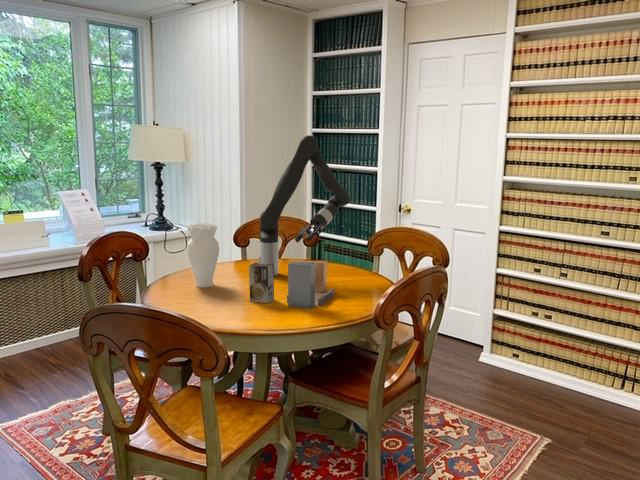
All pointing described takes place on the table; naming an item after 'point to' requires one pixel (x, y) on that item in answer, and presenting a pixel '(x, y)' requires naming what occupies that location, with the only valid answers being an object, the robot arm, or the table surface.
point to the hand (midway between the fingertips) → (301, 240)
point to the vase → (203, 252)
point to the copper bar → (321, 276)
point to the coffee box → (261, 282)
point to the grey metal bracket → (304, 286)
